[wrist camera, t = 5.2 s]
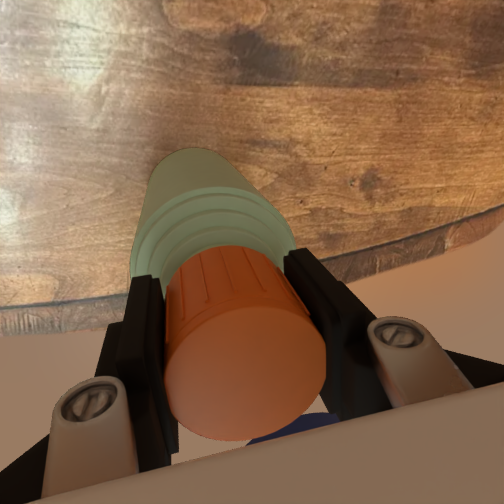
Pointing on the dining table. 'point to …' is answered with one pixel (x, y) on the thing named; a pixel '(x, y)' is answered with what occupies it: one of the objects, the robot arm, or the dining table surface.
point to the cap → (238, 346)
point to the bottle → (202, 215)
